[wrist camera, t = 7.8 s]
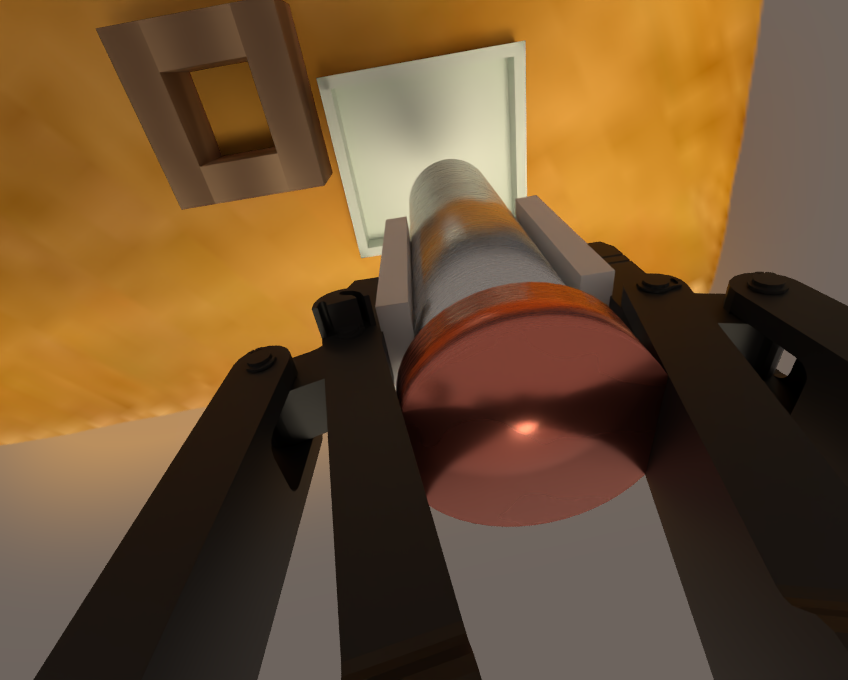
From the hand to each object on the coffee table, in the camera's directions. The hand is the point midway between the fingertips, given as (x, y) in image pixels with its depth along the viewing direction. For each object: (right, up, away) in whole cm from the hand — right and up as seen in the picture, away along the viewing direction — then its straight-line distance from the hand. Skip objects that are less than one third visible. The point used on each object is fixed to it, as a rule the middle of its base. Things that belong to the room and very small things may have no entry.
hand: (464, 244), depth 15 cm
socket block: (-14, +12, +13) cm, 23 cm away
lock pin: (0, +3, +5) cm, 6 cm away
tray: (-1, +10, +15) cm, 18 cm away
